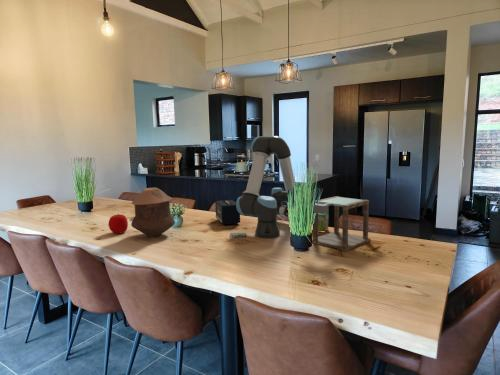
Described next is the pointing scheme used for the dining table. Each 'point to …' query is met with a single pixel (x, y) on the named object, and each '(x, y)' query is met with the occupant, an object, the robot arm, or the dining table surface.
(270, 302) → the dining table surface
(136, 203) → the pottery vessel
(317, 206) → the trapdoor
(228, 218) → the speaker
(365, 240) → the stand
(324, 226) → the chalk box
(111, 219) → the tomato
